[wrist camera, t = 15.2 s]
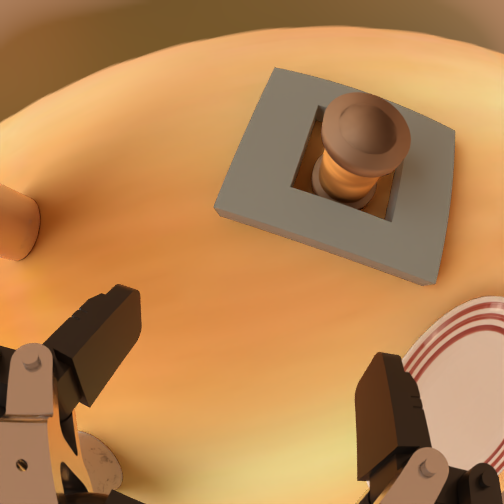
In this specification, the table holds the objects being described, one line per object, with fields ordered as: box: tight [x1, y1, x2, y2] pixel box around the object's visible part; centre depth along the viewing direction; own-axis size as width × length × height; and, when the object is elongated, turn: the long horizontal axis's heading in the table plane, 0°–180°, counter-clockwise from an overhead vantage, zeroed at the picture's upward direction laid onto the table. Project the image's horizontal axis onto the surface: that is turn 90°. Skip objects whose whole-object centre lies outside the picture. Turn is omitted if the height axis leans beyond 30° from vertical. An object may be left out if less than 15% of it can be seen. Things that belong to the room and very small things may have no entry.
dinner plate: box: [367, 296, 504, 488], centre depth 23 cm, size 28×27×3 cm
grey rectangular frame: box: [214, 68, 455, 286], centre depth 28 cm, size 22×18×3 cm
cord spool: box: [311, 92, 411, 210], centre depth 24 cm, size 7×7×11 cm
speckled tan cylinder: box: [78, 431, 123, 495], centre depth 21 cm, size 10×10×12 cm
